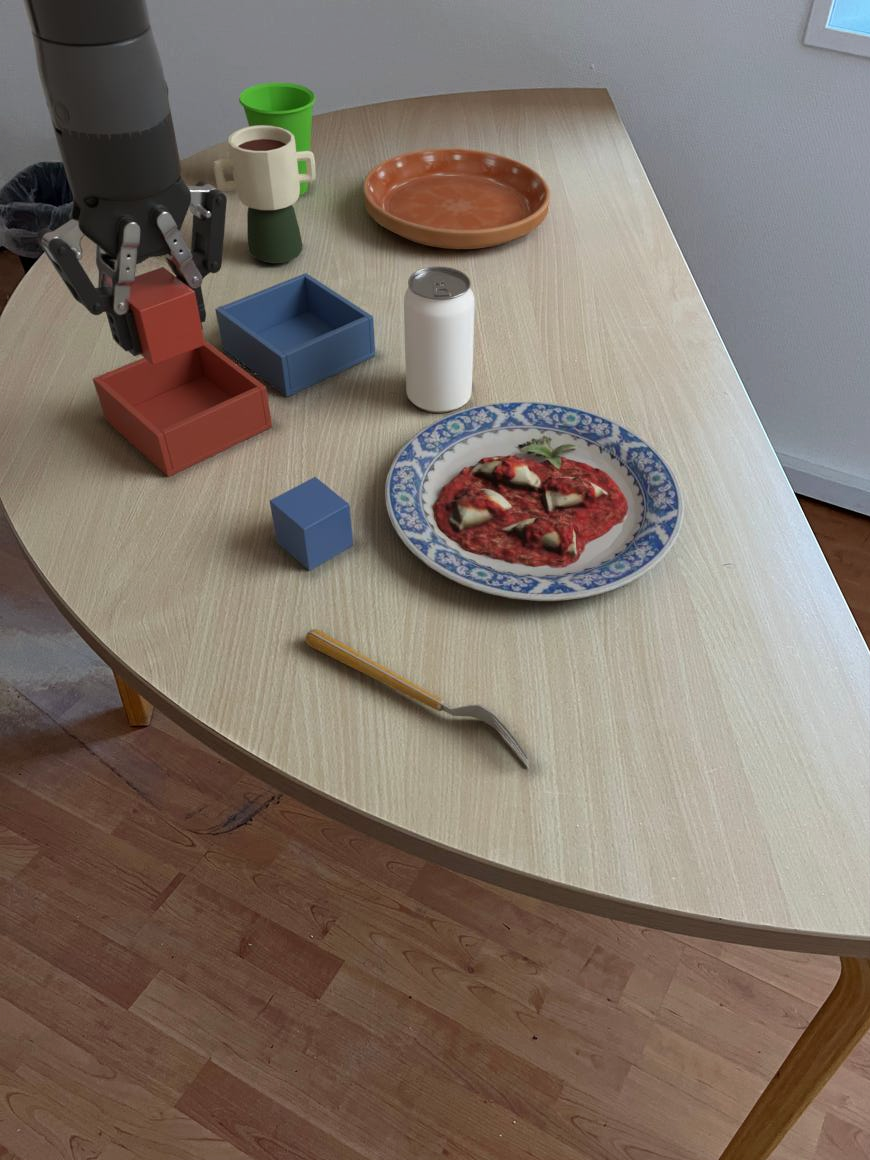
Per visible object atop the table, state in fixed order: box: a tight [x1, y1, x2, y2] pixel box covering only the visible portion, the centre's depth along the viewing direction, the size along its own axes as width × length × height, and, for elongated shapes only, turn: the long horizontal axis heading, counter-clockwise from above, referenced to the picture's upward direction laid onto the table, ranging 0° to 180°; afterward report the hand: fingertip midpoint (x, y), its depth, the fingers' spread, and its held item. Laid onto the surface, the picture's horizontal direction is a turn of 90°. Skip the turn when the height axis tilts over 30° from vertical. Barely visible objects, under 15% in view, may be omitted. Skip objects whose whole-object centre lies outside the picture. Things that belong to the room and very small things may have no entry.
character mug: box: [213, 125, 317, 264], centre depth 107 cm, size 11×7×13 cm, turn 108°
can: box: [403, 266, 475, 414], centre depth 90 cm, size 6×6×12 cm
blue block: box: [269, 476, 354, 571], centre depth 79 cm, size 5×5×5 cm
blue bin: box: [214, 272, 376, 398], centre depth 97 cm, size 11×11×4 cm
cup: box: [238, 82, 316, 197], centre depth 119 cm, size 9×9×11 cm
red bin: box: [92, 339, 273, 478], centre depth 89 cm, size 11×11×4 cm
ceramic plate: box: [384, 400, 685, 602], centre depth 83 cm, size 26×26×3 cm
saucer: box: [362, 147, 551, 250], centre depth 118 cm, size 23×23×4 cm
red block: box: [129, 266, 205, 365], centre depth 74 cm, size 5×5×5 cm
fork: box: [305, 628, 530, 769], centre depth 70 cm, size 2×2×20 cm
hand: (162, 338), depth 75 cm, fingers closed on red block, 4 cm apart
